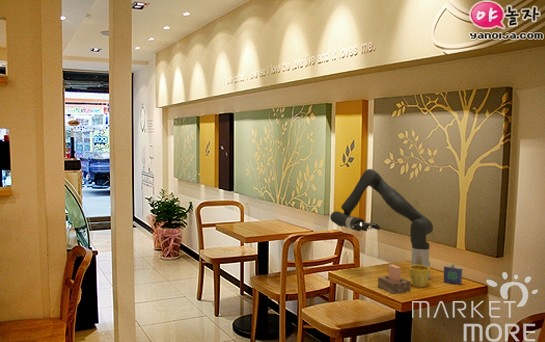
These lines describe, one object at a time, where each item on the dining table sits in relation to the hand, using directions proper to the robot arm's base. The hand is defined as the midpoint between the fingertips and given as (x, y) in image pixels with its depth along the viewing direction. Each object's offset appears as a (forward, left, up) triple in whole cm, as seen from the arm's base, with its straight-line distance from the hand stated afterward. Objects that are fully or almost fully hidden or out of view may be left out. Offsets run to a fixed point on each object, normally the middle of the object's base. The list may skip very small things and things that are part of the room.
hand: (373, 228), depth 258 cm
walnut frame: (0, +18, -28) cm, 33 cm away
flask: (-35, +24, -28) cm, 51 cm away
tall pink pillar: (0, +18, -28) cm, 33 cm away
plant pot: (-16, +19, -28) cm, 38 cm away
